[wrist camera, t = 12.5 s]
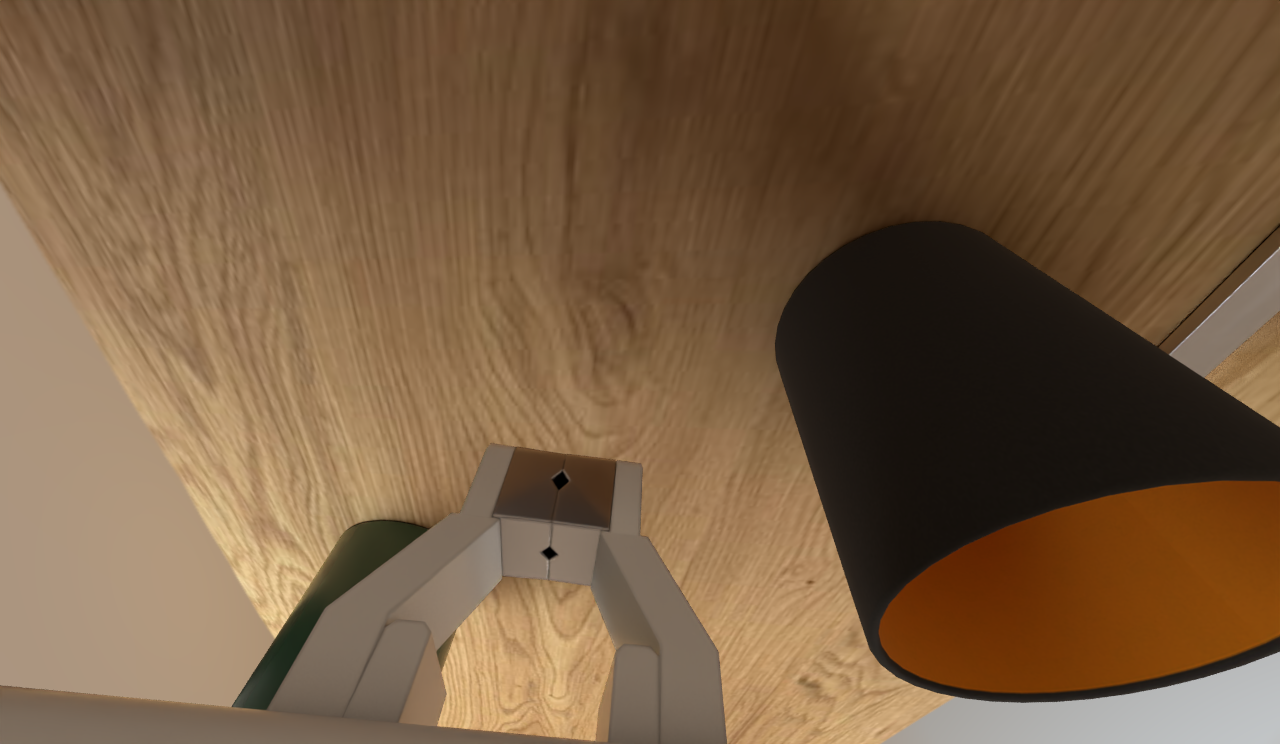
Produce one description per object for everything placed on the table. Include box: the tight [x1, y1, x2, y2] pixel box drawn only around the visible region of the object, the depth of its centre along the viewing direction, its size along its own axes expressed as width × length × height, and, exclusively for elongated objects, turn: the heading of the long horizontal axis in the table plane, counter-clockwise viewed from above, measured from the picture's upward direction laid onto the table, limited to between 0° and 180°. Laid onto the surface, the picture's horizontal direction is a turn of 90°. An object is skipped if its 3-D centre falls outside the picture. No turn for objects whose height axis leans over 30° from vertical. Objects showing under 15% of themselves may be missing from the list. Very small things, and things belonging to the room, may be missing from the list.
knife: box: [1158, 226, 1280, 377], centre depth 18 cm, size 18×2×2 cm, turn 171°
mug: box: [775, 221, 1280, 703], centre depth 13 cm, size 8×12×10 cm
